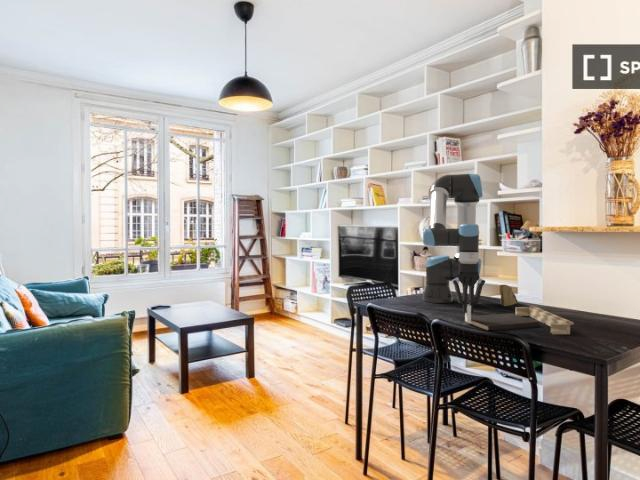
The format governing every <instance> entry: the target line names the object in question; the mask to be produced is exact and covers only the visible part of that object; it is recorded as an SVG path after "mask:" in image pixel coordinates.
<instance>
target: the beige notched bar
mask: <svg viewBox="0 0 640 480" xmlns="http://www.w3.org/2000/svg"><path fill="white" fill-rule="evenodd" d="M514 310H515V313H514V314H515V315H519V316H522V317H530V318H531V319H533V320H535V321H538V322H539V323H542V324H544V323H545V325H546V326H549V327H550V334H551V333H552V334H551V335H571V326H573V325H574V322H573V321H571V320H569V319H566V318H564V317H563V316H560V315H557V314H554V313H552V312H550V311H547V310H545V309H542V308H541V307H537V306H536V305H532V304H531V305H530V306H529V307H526V306H521V307H520V306H519V307H517V306H516V307H515V309H514Z"/></svg>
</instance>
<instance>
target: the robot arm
mask: <svg viewBox="0 0 640 480" xmlns="http://www.w3.org/2000/svg"><path fill="white" fill-rule="evenodd" d="M427 194H428V195H427V197H428V200H429V213H428V214H429V215H428V227H427V228H424V229H423V232H422V244H423V245H424V246H426V247H428V246H429V247H456V252H455V253H454V254H453V258H451V257H450V255H449V254H448V255H437V256H436V255H435V256H431V257H427V259H426V261H425V262H426V263H425V269H426V270H425V275H426V276H425V288H424V291H423V293H422V301H423V302H425V303H431V304H432V303H433V304H449V303H453V300H454V299H453V298H454V297H453V296H454V295H453V294H452V290H451V288H450V282H452V284H453V286H454V290H455V294H456V299H457V302H458V303H459V304H461V305H462V312H463V313H464V317H465V318H464V321H467V322H471V316H472V314H473V313H474V306H475V305H476V304H478V305H479V301H480V298H481V295H482V290H483V287H484V285H485V283H486V280H484V279H482V278H481V276H480V275H481V274H480V273H481V269H482V259H481V258H479V251H480V250H479V246H480V243H479V242H480V241H479V240H480V228H479V227H480V226H479V225H478V224H477V223H476V222H477V221H476V217H477V216H476V215H477V214H476V212H477V210H476V209H477V205H478V203H480V199H482V198H483V187H482V180H481V176H480V175H479V174H478V173H461V174H460V173H459V174H445V175H443V176H440V177H439V178H437V179H436V180H435V181H433V182H432V184H431V186H430V188H429V189H428V193H427ZM448 199H454V200H453V202H454V204H456V206H457V210H456V211H457V214H456V215H457V218H456V219H457V222H456V224H457V225H456V226H457V227H456V228H447V201H448ZM459 284H461V285H462V286H461V287H462V292H461V289H460V285H459ZM475 285H477V286H476V290H475ZM467 322H466V323H467Z"/></svg>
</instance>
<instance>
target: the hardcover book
mask: <svg viewBox="0 0 640 480" xmlns="http://www.w3.org/2000/svg"><path fill="white" fill-rule="evenodd" d="M463 318H464V319H465V316H464V317H463ZM464 323H467V324H470V325H472V326H475V327H477V328H480V329H483V330H485V331H488V330H493V331H503V330H513V329H514V330H515V329H526V328H539V327H540V321H538V320H536V319H533V318H528V317H526V316H519V315H515V313H511V312H510V313H497V314H485V315H471V322H467V321H465V320H464Z"/></svg>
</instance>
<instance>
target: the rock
mask: <svg viewBox="0 0 640 480" xmlns="http://www.w3.org/2000/svg"><path fill="white" fill-rule="evenodd" d="M499 294H500V301H499V302H500V305H501V306H503V307H509V306H513V305H515V304H518V303H519V302H518V299H517V296H516V294H515V293H514V291H513V288H512V287H511V286H509V285H507V284H500V286H499Z"/></svg>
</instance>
